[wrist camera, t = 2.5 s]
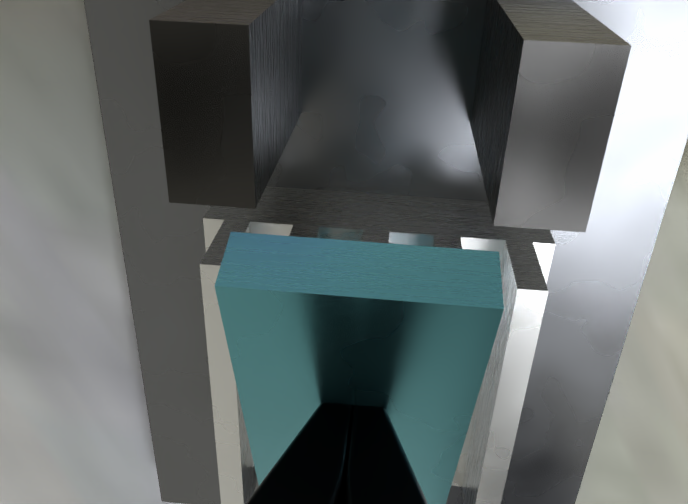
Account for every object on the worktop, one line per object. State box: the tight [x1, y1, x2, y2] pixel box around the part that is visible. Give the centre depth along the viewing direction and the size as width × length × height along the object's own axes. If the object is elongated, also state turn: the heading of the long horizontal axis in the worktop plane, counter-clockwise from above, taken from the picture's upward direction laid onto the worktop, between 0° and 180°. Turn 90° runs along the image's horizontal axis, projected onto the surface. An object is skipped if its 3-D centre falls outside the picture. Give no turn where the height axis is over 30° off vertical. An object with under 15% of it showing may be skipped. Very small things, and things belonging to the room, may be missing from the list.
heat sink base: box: [84, 0, 688, 504], centre depth 17 cm, size 18×14×7 cm
